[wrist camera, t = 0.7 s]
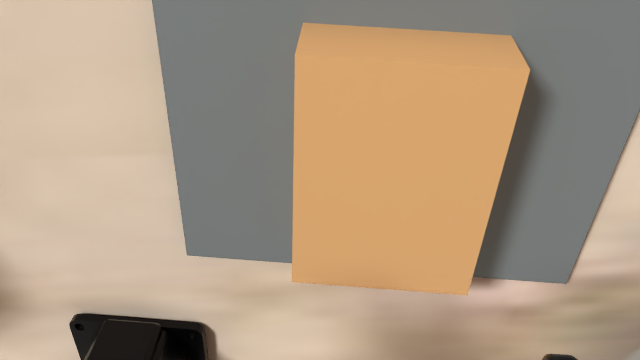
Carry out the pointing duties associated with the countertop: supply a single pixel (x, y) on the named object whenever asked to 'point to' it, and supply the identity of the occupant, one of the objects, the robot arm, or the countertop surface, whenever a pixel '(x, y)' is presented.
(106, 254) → the countertop surface
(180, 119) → the mat
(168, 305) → the countertop surface
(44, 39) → the countertop surface
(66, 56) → the countertop surface
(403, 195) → the orange flat block
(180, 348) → the robot arm
